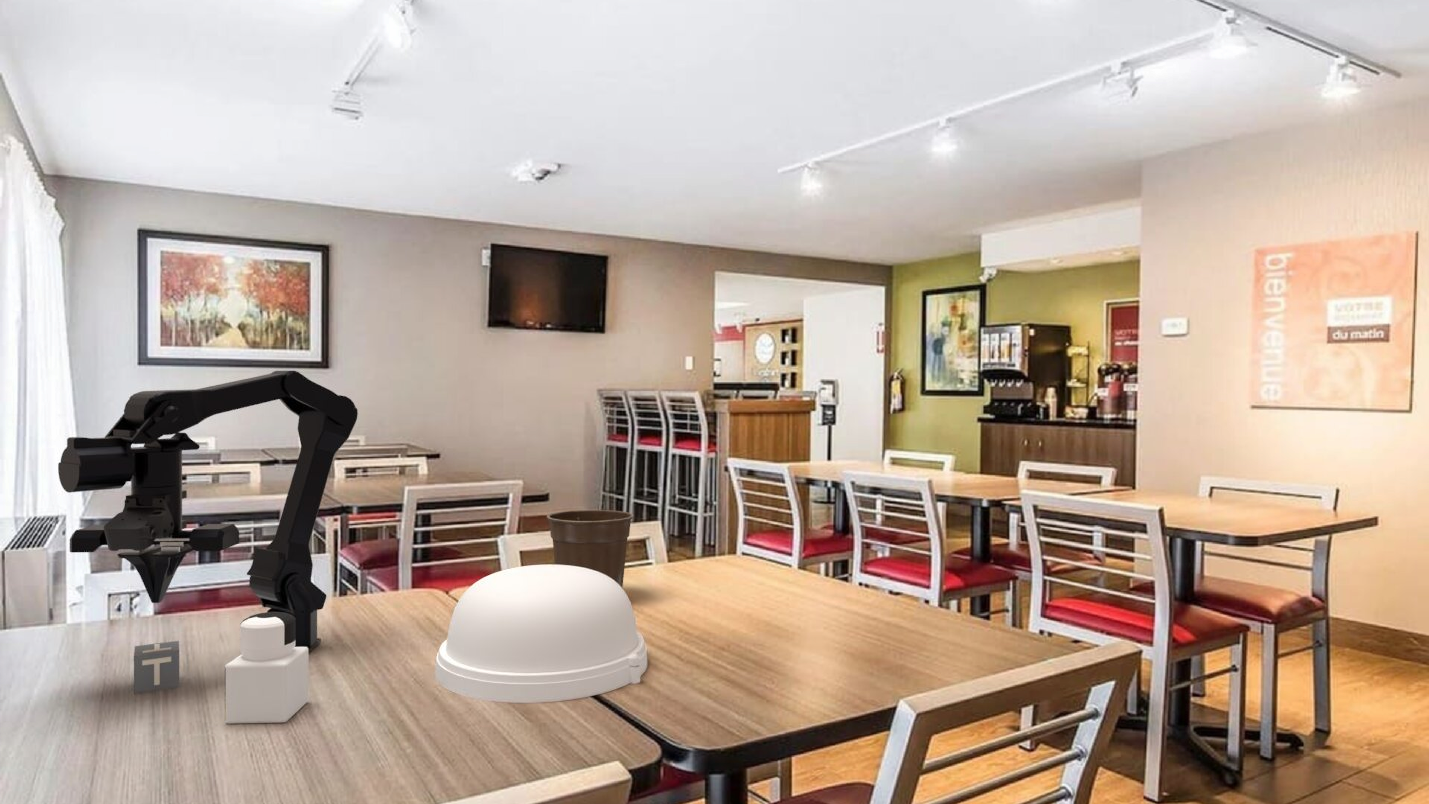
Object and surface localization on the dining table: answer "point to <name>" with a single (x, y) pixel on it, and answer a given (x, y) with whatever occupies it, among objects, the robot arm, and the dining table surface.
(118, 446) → the robot arm
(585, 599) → the dome cover
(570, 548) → the plant pot
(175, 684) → the lettered cube
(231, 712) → the medicine bottle
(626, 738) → the dining table surface
